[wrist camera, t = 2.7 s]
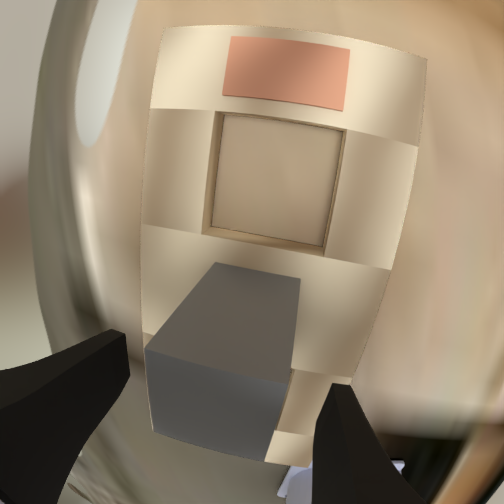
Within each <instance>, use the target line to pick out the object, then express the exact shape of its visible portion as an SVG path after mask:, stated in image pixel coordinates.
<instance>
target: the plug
mask: <svg viewBox="0 0 504 504" xmlns="http://www.w3.org/2000/svg"><path fill="white" fill-rule="evenodd" d="M300 282H301V279H300V278H295V277H290V276H284V275H279V274H274V273H269V272H264V271H258V270H253V269H248V268H243V267H238V266H233V265H228V264H223V263H218V262H215V263H214V264H213V265H212V266H211V268H210V269H209V270H208V271H207V272H206V274H205V275H204V276H203V277H202V278H201V280H200V281H199V282H198V283H197V284H196V286H195V287H194V288H193V289H192V290H191V292H190V293H189V294H188V295H187V296H186V298H185V299H184V300H183V301H182V302H181V304H180V305H179V306H178V307H177V308H176V310H175V311H174V312H173V313H172V314H171V316H170V317H169V318H168V319H167V321H166V322H165V323H164V324H163V325H162V327H161V328H160V329H159V330H158V331H157V333H156V334H155V335H154V336H153V338H152V339H151V340H150V341H149V343H148V344H147V345H146V346H145V347H144V354H145V366H146V376H147V386H148V395H149V403H150V411H151V418H152V425H153V431H154V432H156V433H159V434H162V435H165V436H168V437H171V438H174V439H177V440H180V441H183V442H186V443H190V444H193V445H196V446H200V447H203V448H207V449H211V450H214V451H218V452H222V453H226V454H230V455H235V456H239V457H243V458H248V459H253V460H258V461H263V462H264V460H265V457H266V454H267V451H268V448H269V445H270V442H271V439H272V436H273V433H274V430H275V427H276V424H277V421H278V418H279V414H280V411H281V408H282V405H283V402H284V398H285V395H286V392H287V388H288V385H289V378H290V370H291V363H292V355H293V347H294V338H295V330H296V321H297V312H298V303H299V293H300Z"/></svg>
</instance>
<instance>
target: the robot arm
mask: <svg viewBox="0 0 504 504" xmlns="http://www.w3.org/2000/svg"><path fill="white" fill-rule="evenodd" d="M129 377H130V369H129V362H128V354H127V345H126V336H125V333H122V332H119V331H116V330H113V329H110V330H107V331H105V332H103V333H100V334H98V335H96V336H94V337H92V338H89V339H87V340H85V341H83V342H81V343H79V344H76V345H74V346H72V347H70V348H67V349H65V350H63V351H61V352H58V353H56V354H53V355H50V356H48V357H45V358H43V359H40V360H38V361H35V362H32V363H29V364H25V365H22V366H18V367H15V368H11V369H5V370H0V504H57V502H58V499H59V496H60V494H61V491H62V489H63V486H64V484H65V482H66V479H67V477H68V475H69V473H70V471H71V469H72V467H73V465H74V463H75V461H76V459H77V457H78V455H79V453H80V451H81V450H82V448H83V446H84V444H85V443H86V441H87V440H88V438H89V437H90V435H91V434H92V433H93V431H94V430H95V429H96V427H97V426H98V424H99V423H100V422H101V420H102V419H103V418H104V416H105V415H106V414H107V412H108V411H109V410H110V408H111V407H112V406H113V404H114V403H115V401H116V400H117V399H118V397H119V396H120V394H121V392H122V390H123V389H124V387H125V385H126V383H127V381H128V379H129ZM403 467H404V461H391V460H390V458H389V456H388V455H387V453H386V452H385V450H384V449H383V447H382V445H381V444H380V442H379V440H378V439H377V437H376V435H375V433H374V431H373V429H372V428H371V426H370V424H369V422H368V420H367V418H366V416H365V414H364V412H363V410H362V408H361V406H360V404H359V402H358V400H357V398H356V396H355V394H354V391H353V389H352V387H351V386H350V385H346V384H338V383H332V384H331V387H330V389H329V392H328V394H327V397H326V399H325V402H324V404H323V406H322V409H321V411H320V413H319V416H318V418H317V420H316V425H315V432H314V440H313V455H312V461H311V463H310V465H309V467H308V468H304V467H296V466H290V468H289V470H288V472H287V474H286V476H285V478H284V480H283V482H282V484H281V486H280V488H279V490H278V492H277V495H278V496H279V497H284V498H286V503H285V504H427V503H426V502H425V501H424V500H423V499H422V498H421V497H420V496H419V495H418V494H417V493H416V492H415V491H414V490H413V488H412V487H411V486H410V485H409V484H408V482H407V481H406V480H405V479H404V478H403V476H402V475H401V469H402V468H403Z"/></svg>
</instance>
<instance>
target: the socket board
mask: <svg viewBox="0 0 504 504" xmlns="http://www.w3.org/2000/svg"><path fill="white" fill-rule="evenodd" d="M426 71H427V59H426V58H423V57H420V56H417V55H414V54H411V53H407V52H404V51H401V50H397V49H394V48H390V47H387V46H383V45H379V44H375V43H371V42H367V41H362V40H358V39H353V38H348V37H343V36H338V35H332V34H326V33H320V32H313V31H306V30H298V29H289V28H278V27H265V26H245V25H202V26H182V27H169V28H164V29H163V34H162V39H161V44H160V49H159V54H158V60H157V65H156V71H155V77H154V83H153V90H152V97H151V104H150V111H149V120H148V128H147V137H146V147H145V158H144V171H143V185H142V204H141V234H140V284H141V314H142V332H143V347H145V346H146V345H147V344H148V343H149V341H150V340H151V339H152V338H153V336H154V335H155V334H156V333H157V331H158V330H159V329H160V328H161V327H162V325H163V324H164V323H165V322H166V321H167V319H168V318H169V317H170V316H171V314H172V313H173V312H174V311H175V310H176V308H177V307H178V306H179V305H180V304H181V302H182V301H183V300H184V299H185V298H186V296H187V295H188V294H189V293H190V292H191V290H192V289H193V288H194V287H195V286H196V284H197V283H198V282H199V281H200V280H201V278H202V277H203V276H204V275H205V274H206V272H207V271H208V270H209V269H210V268H211V266H212V265H213V264H214V263H215V262H218V263H223V264H228V265H233V266H238V267H243V268H248V269H253V270H258V271H264V272H269V273H274V274H279V275H284V276H290V277H295V278H300V279H301V282H300V293H299V303H298V312H297V321H296V330H295V338H294V347H293V355H292V363H291V368H292V373H291V376H290V380H289V385H288V388H287V392H286V395H285V398H284V402H283V405H282V408H281V411H280V414H279V418H278V421H277V424H276V427H275V430H274V433H273V436H272V439H271V442H270V445H269V448H268V451H267V454H266V457H265V460H264V461H265V462H271V463H277V464H283V465H289V466H296V467H304V468H308V467H309V465H310V463H311V461H312V455H313V440H314V432H315V425H316V420H317V418H318V416H319V413H320V411H321V409H322V406H323V404H324V402H325V399H326V397H327V394H328V392H329V389H330V387H331V384H332V383H338V384H346V385H350V382H351V380H352V378H353V375H354V373H355V371H356V368H357V366H358V363H359V361H360V358H361V356H362V353H363V351H364V348H365V346H366V343H367V340H368V338H369V335H370V332H371V330H372V327H373V324H374V321H375V318H376V316H377V313H378V310H379V307H380V304H381V301H382V298H383V295H384V292H385V288H386V285H387V282H388V279H389V275H390V272H391V269H392V265H393V262H394V258H395V255H396V251H397V247H398V243H399V240H400V236H401V232H402V228H403V223H404V219H405V215H406V211H407V206H408V202H409V197H410V192H411V187H412V182H413V177H414V171H415V165H416V160H417V153H418V147H419V140H420V133H421V125H422V117H423V108H424V98H425V86H426ZM224 114H225V115H236V116H246V117H255V118H264V119H272V120H279V121H286V122H293V123H299V124H305V125H311V126H317V127H323V128H328V129H333V130H338V131H343V138H342V144H341V151H340V157H339V163H338V169H337V175H336V181H335V186H334V192H333V197H332V203H331V208H330V213H329V218H328V223H327V228H326V233H325V238H324V243H323V247H320V246H315V245H309V244H304V243H299V242H293V241H288V240H283V239H277V238H272V237H266V236H261V235H255V234H250V233H244V232H239V231H233V230H227V229H222V228H216V227H211V222H212V212H213V202H214V193H215V184H216V175H217V167H218V158H219V150H220V142H221V135H222V127H223V120H224ZM144 359H145V354H144ZM145 370H146V366H145ZM146 380H147V376H146ZM147 389H148V386H147ZM148 398H149V395H148ZM149 406H150V403H149ZM150 413H151V411H150ZM151 421H152V418H151ZM152 427H153V425H152Z"/></svg>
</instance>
